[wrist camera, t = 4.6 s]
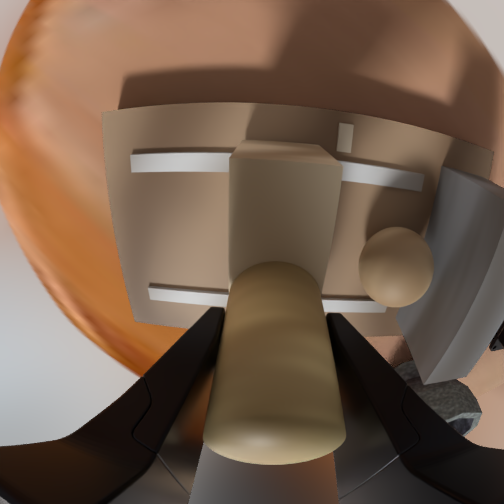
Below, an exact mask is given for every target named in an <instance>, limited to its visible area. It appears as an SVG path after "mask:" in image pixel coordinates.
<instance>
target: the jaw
mask: <svg viewBox="0 0 504 504" xmlns="http://www.w3.org/2000/svg"><path fill="white" fill-rule="evenodd" d="M342 174H343V166H342V165H341V164H340V163H339V162H338V161H337V160H336V159H335V158H333V157H332V156H331V155H330V154H329V153H328V152H327V151H325V150H324V149H323V148H322V147H321V146H320V145H315V144H305V143H294V142H281V141H265V140H242V141H241V142H240V144H239V145H238V146H237V148H236V149H235V150H234V152H233V153H232V155H231V156H230V157H229V217H228V266H229V296H228V301H227V306H226V312H225V317H224V322H223V328H222V333H221V338H220V343H219V349H218V354H217V359H216V364H215V370H214V375H213V381H212V386H211V392H210V397H209V403H208V408H207V414H206V420H205V425H204V431H203V441H204V443H205V444H206V445H207V446H208V447H209V448H210V449H211V450H213V451H214V452H216V453H218V454H220V455H222V456H225V457H227V458H230V459H234V460H238V461H242V462H247V463H253V464H266V465H279V464H291V463H298V462H304V461H308V460H312V459H316V458H319V457H321V456H324V455H326V454H328V453H330V452H332V451H334V450H336V449H337V448H338V447H339V446H341V445H342V444H343V442H344V441H345V439H346V429H345V422H344V416H343V409H342V403H341V397H340V391H339V385H338V379H337V373H336V368H335V362H334V357H333V352H332V347H331V342H330V337H329V332H328V327H327V322H326V317H325V312H324V308H323V303H322V299H321V294H322V289H323V285H324V280H325V275H326V270H327V265H328V260H329V255H330V249H331V244H332V238H333V233H334V227H335V221H336V215H337V209H338V202H339V196H340V189H341V181H342Z"/></svg>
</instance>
